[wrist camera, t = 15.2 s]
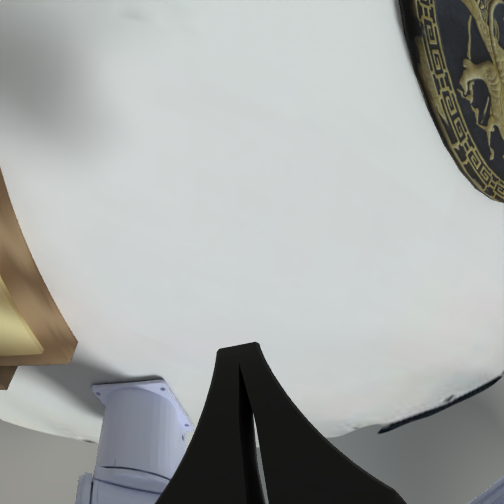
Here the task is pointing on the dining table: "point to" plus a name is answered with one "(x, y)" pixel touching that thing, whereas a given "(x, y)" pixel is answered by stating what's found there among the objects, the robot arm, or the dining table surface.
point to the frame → (27, 302)
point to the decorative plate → (463, 81)
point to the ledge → (6, 376)
